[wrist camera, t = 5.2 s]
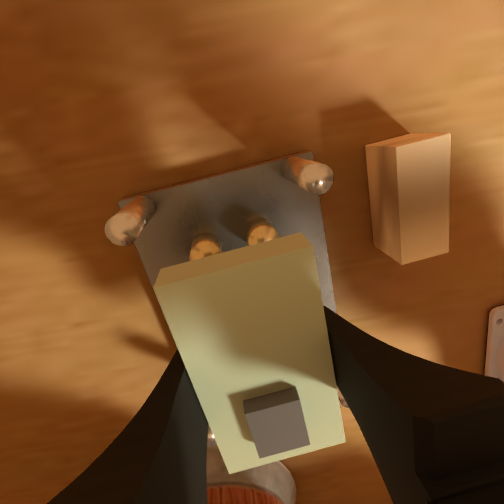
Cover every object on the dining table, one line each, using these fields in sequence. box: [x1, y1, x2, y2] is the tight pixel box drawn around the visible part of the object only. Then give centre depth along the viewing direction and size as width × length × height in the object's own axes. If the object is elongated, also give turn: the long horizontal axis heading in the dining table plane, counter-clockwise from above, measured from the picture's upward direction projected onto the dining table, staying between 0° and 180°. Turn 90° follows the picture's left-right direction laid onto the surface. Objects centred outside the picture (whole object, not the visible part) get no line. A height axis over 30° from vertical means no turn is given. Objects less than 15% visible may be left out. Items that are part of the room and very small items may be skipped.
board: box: [153, 232, 346, 474], centre depth 11 cm, size 9×5×2 cm, turn 13°
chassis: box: [105, 150, 349, 447], centre depth 16 cm, size 13×10×5 cm
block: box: [365, 133, 451, 265], centre depth 16 cm, size 6×3×3 cm, turn 13°
